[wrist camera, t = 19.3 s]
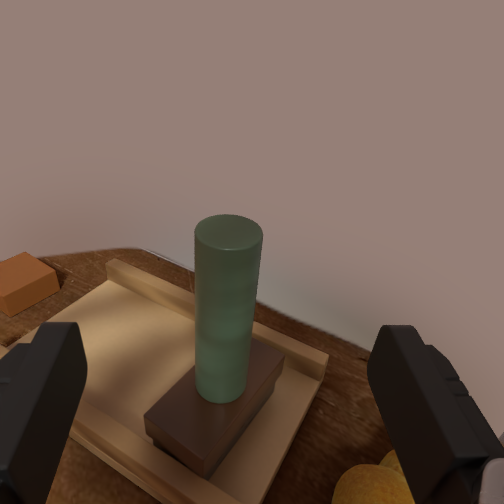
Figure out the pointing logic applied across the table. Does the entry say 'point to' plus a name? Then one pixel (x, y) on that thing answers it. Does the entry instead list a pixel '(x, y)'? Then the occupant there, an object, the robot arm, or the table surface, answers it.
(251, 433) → the tray
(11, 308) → the brown block
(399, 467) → the bread roll
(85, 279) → the table surface
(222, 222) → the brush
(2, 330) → the table surface
